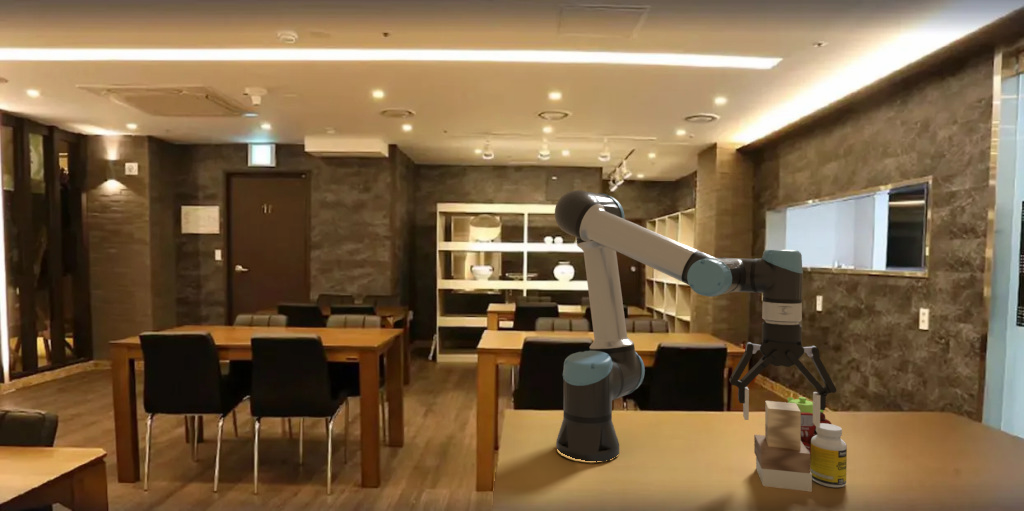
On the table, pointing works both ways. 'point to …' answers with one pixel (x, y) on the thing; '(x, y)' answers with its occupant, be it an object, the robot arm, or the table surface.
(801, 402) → the teapot
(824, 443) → the pill bottle
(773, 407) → the oak block
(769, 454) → the walnut block upper
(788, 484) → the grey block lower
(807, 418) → the toy fire truck
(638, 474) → the table surface
